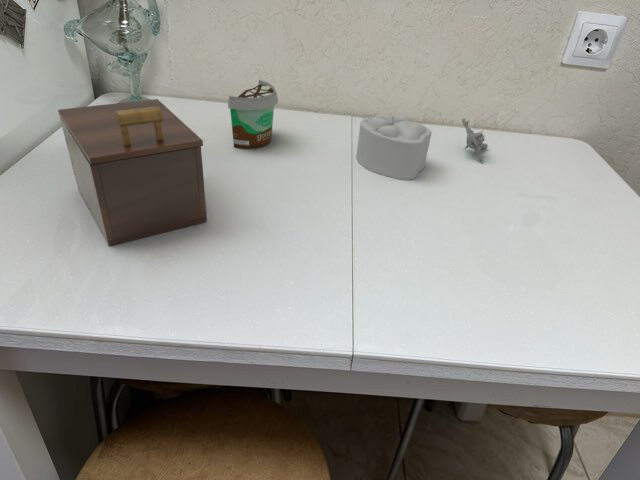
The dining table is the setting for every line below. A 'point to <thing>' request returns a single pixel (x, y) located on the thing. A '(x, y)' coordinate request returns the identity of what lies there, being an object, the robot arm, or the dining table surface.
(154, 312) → the dining table surface
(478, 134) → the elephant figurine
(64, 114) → the lid
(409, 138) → the lumpy-topped squat cylinder
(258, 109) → the food container
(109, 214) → the chest
